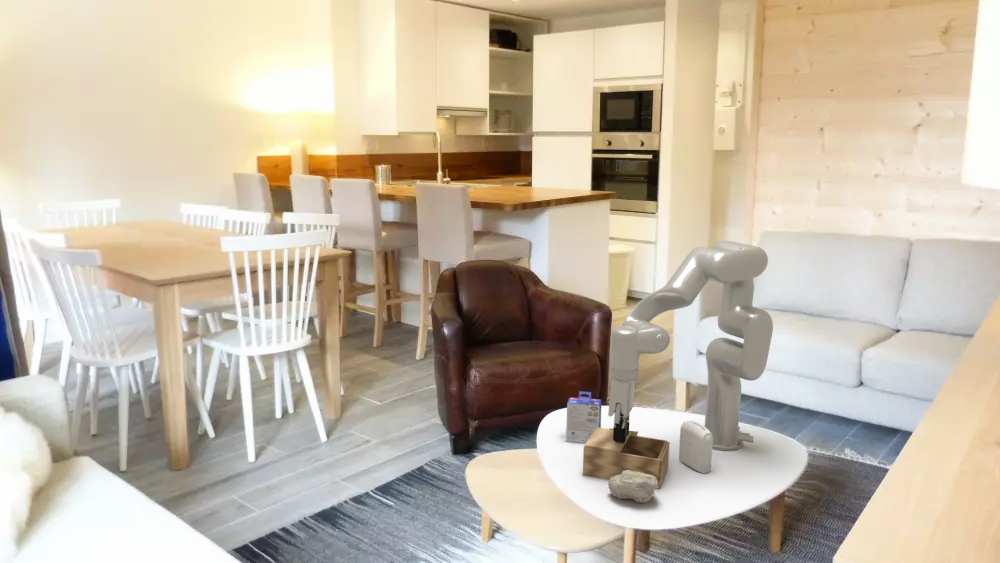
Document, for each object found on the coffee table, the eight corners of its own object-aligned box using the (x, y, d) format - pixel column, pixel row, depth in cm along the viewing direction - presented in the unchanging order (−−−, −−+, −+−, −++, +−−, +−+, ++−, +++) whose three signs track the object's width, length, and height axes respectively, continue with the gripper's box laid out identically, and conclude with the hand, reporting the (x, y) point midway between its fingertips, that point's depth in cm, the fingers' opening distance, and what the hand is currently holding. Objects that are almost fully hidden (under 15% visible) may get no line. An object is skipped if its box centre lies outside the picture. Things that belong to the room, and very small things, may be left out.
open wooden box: (668, 468, 206) (669, 441, 204) (659, 489, 194) (661, 460, 192) (594, 455, 213) (595, 429, 212) (582, 475, 201) (583, 447, 200)
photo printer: (676, 459, 211) (678, 418, 209) (688, 457, 213) (691, 415, 210) (700, 475, 202) (703, 432, 200) (713, 472, 204) (716, 429, 201)
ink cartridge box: (600, 437, 226) (602, 391, 223) (599, 445, 220) (601, 398, 217) (567, 434, 228) (569, 389, 225) (565, 441, 222) (567, 395, 219)
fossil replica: (606, 489, 194) (613, 512, 185) (605, 461, 192) (612, 482, 182) (652, 485, 194) (661, 508, 185) (652, 457, 192) (661, 478, 182)
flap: (584, 446, 200) (585, 420, 198) (596, 429, 211) (597, 403, 210) (620, 453, 196) (621, 425, 195) (630, 434, 208) (631, 408, 206)
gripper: (617, 362, 207) (614, 424, 211) (602, 380, 192) (599, 447, 196) (644, 365, 205) (640, 428, 208) (631, 384, 190) (628, 452, 193)
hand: (620, 437), depth 202 cm, fingers open, 3 cm apart
